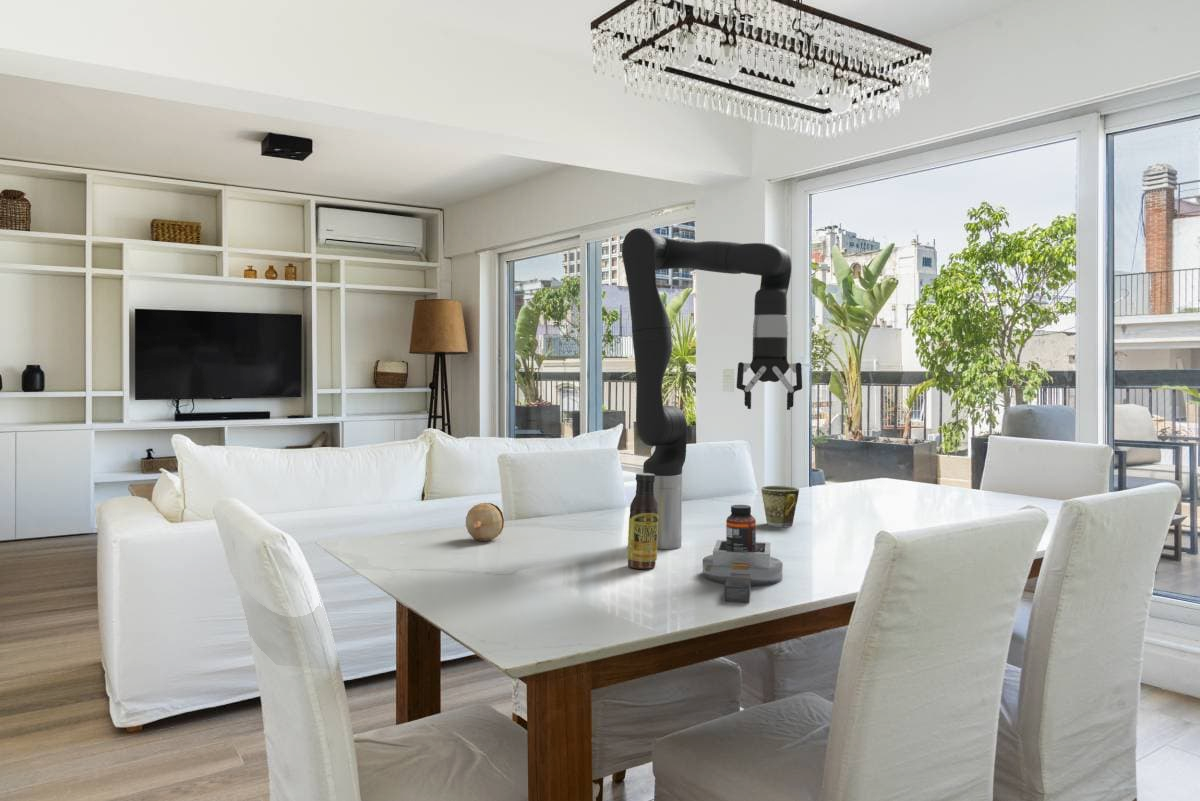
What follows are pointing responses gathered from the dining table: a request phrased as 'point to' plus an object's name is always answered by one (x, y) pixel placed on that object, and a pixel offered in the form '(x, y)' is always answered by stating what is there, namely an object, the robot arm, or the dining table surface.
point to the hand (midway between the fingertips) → (768, 409)
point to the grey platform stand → (742, 570)
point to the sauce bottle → (643, 524)
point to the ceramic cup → (780, 504)
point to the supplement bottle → (741, 529)
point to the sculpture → (484, 521)
